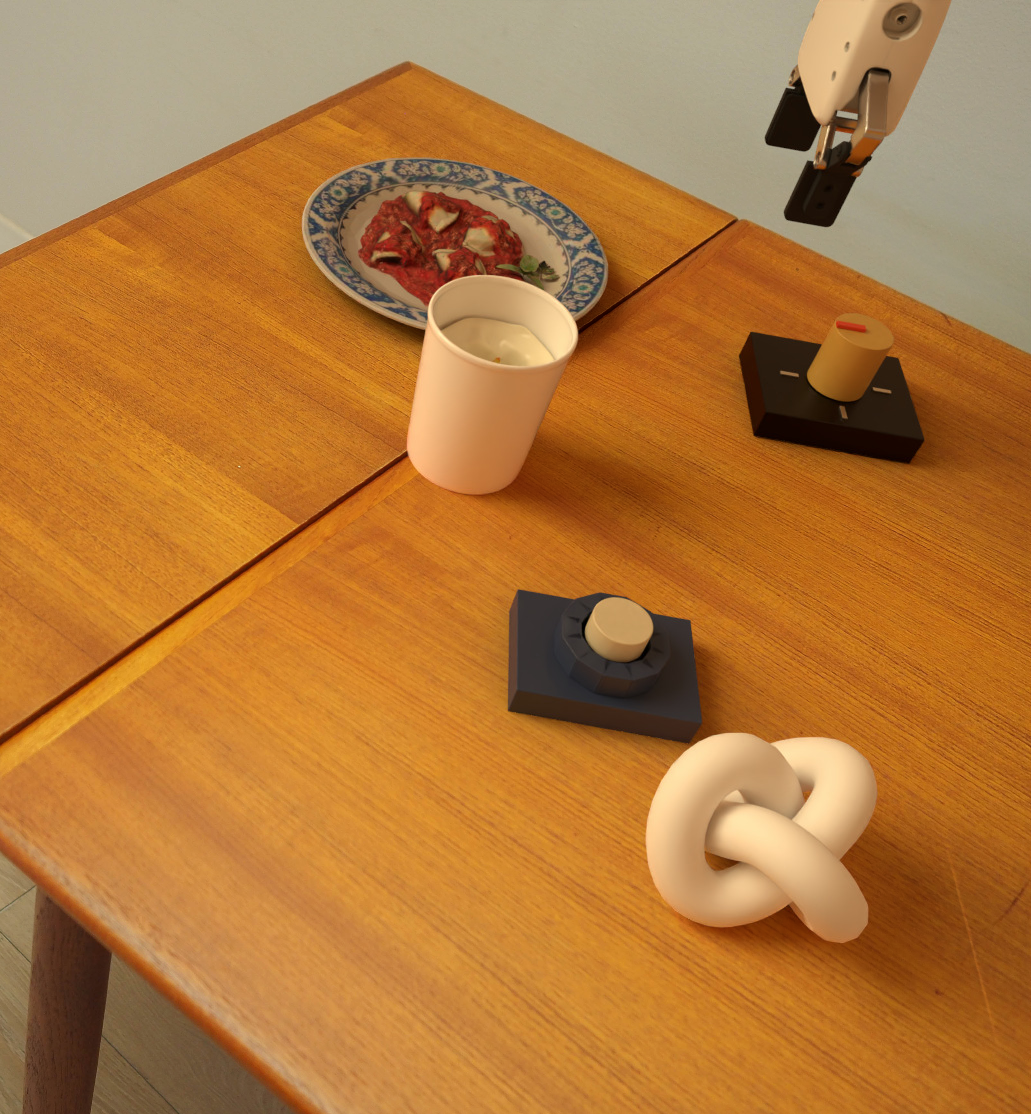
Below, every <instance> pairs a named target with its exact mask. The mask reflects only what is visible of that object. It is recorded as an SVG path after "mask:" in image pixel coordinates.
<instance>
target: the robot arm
mask: <svg viewBox="0 0 1031 1114" xmlns="http://www.w3.org/2000/svg"><path fill="white" fill-rule="evenodd" d="M951 3H952V0H818V2H817V4H816V7H815V9H814V11H813V13H812V15H811V18H810V21H809V23H808V25H807V28H806V29H805V30H806V31H805V33H804V36H803V39H802V40H801V44H800V47H799V50H798V54H797V64H796V65H795V67H793V68H792V70H791V72H790V74H789V77H788V83H787V84H788V87H785V89H784V91H783V93H782V96H781V97H780V99H779V103H778V104H777V106H776V109H775V111H774V114H773V116H772V118H771V121H770V123H769V125H768V128H767V130H766V133H765V135H764V142H765V145H767V146H770V147H776V148H779V149H786V150H790V151H791V150H792V151H797V152H803V153H806V152H808V151H810V150H811V148H812V146H813V144H814V142H815V140H816V138H817V136H818V134H819V136H818V140H817V145H816V150H815V154H814V159H813V160H808V159H807V160H806V162H805V164H804V167H803V168H802V171H801V173H800V174H799V177H798V179H797V182H796V183H795V186H794V188H793V189H792V192H791V194H790V195H789V198H788V201H787V203H786V204H785V207H784V209H783V216H784V220H786V221H788V222H793V223H800V224H805V225H811V226H814V227H815V226H816V227H822V228H830V227H831V226H833V225H834V224H835V222H836V220H837V218H838V216H839V215H840V212H841V210H842V208H843V206H844V204H845V202H846V200H847V198H848V196H849V194H850V192H851V190H852V188H853V186H854V184H855V183H856V180H857V178H859V177H860V176H861V175H862V174H863V171H864V169H865V166H867V165H868V164H869V163H870V162H871V161H872V159H873V156H872V155H873V154H874V153H875V151H876V150H877V149H878V148H879V146H880V145H881V144H882V143H883V141H884V140H885V138H887V137H889V136H890V135H892V133H894V132H895V130H896V129H897V127H898V125H899V123H900V121H901V120H902V117H903V115H904V113H905V111H906V108H907V106H908V104H909V103H910V100H911V97H912V96H913V93H914V91H915V89H916V87H917V85H918V83H919V80H920V78H921V76H922V74H923V72H924V70H925V67H926V65H927V63H928V60H929V59H930V56H931V54H932V52H933V50H934V47H935V44H936V42H937V40H938V38H939V35H940V33H941V30H942V27H943V25H944V23H945V21H946V17H947V14H948V12H949V9H950V6H951ZM790 87H792V88H790ZM838 112H844V113H850V114H855V115H857V118H856V119H855V118H849V117H843V116H838ZM819 131H820V132H819ZM836 132H839V133H845V134H851V135H850V139H849V141H846V140H843V141H841V142H840V143H838V144H837V145H836V146H834V147H833V144H834V140H835V135H836Z"/></svg>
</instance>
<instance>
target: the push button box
mask: <svg viewBox="0 0 1031 1114" xmlns="http://www.w3.org/2000/svg"><path fill="white" fill-rule="evenodd" d="M613 597H617V598H624V599H627V600H630V601H633V602H635V603H636V604H638V605H639V606H641V607H642V608H643V609H644V610H645V611H646V612H647V613H648V614H649V616H650V618H651V620H652V623H653V633H652V635H651V637H650V639H649V641H648V643H647V645H646V647H645V649H644V651H643V652H642V654H641V655H640V656H639V657H638V658H637V659H635V660H633V661H630V662H614V661H611V660H608V659H605V658H603V657H601V656H600V655H598V654H597V653H596V652H595V651H594V650H593V649H592V648H591V647H590V646H589V644H588V642H587V640H586V637H585V627H586V625H587V623H588V620H589V618H590V616H591V614H592V612H593V610H594V607H595V606H596V605H597V604H598V603H599V602H600V601H602V600H604V599H607V598H613ZM694 646H695V645H694V638H693V629H692V621H691V620H690V619H688V618H687V619H685V618H680V617H676V616H671V615H670V616H669V615H664V614H659V613H654V612H652V611H651V610H649V609H648V608H646V607H644V606H643V605H641V604H639V603H638V602H636V601H635V600H633V599H631V598H629V597H627V596H624V595H623V596H622V595H618V594H613V593H612V594H611V593H607V592H601V591H600V592H595V593H591V594H588V595H584V596H580V597H577V598H571V597H564V596H559V595H552V594H549V593H548V594H547V593H543V592H536V591H532V590H526V589H520V588H517V590H516V592H515V595H514V598H513V600H512V603H511V605H510V608H509V610H508V662H507V664H508V666H507V671H508V672H507V712H510V713H515V712H516V713H515V714H521V715H527V716H531V715H532V717H536V718H537V717H538V718H543V719H549V720H554V719H556V720H555V721H559V722H560V721H561V722H565V721H566V722H565V723H570V722H571V724H576V723H577V725H582V726H588V727H594V728H599V729H603V730H609V729H610V731H615V730H616V732H621V731H623V732H621V733H627V734H631V735H632V734H633V735H637V734H638V736H643V735H644V736H643V737H648V736H650V737H649V738H655V739H659V738H660V739H659V740H667V741H671V740H672V742H676V741H677V742H676V743H682V744H687V743H688V745H690V744H691V742H692V741H693V740H694V738H695V736H696V735H697V733H698V732H699V730H700V728H701V726H702V725H703V717H702V709H701V699H700V690H699V682H698V681H699V680H698V673H697V664H696V655H695V647H694ZM689 743H690V744H689Z"/></svg>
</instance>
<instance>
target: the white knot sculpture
mask: <svg viewBox="0 0 1031 1114" xmlns="http://www.w3.org/2000/svg"><path fill="white" fill-rule="evenodd" d="M874 772H875V771H874V769H873V768H872V766H871V763H870V761H869V760H868V759H867V758H866V757H865V755H863V754H862V753H861V752H860V751H859V750H857V749H856V748H855V747H853V746H852V745H850V744H849V743H846V742H844V741H842V740H839V739H837V738H830V737H825V736H813V737H812V736H805V737H802V736H801V737H793V738H786V739H781V740H777V741H774V742H771V743H770V742H768V741H766V740H764V739H763V738H761V737H759V736H757V735H754V734H752V733H747V732H724V733H718V734H714V735H710V736H707V737H706V738H704V739H702V740H699V741H697V742H696V743H695V744H693V745H691V746H690V747H689V748H688V749H686V750H684V752H683V753H682V754H681V755H680V756H679V757H678V758H677V759H676V760H675V761H674V762H673V763H672V764H671V765H670V767H669V769H667V772H666V773H665V774H664V776H662V777H663V778H662V779H661V780H660V783H659V785H658V787H657V789H656V791H655V793H654V796H653V798H652V800H651V804H650V808H649V812H648V815H647V819H646V828H645V829H646V830H645V848H646V859H647V864H648V865H647V866H648V869H649V872H650V875H651V878H652V882H653V884H654V887H655V888H656V890H657V891H658V894H660V896H661V898H662V899H663V900H664V901H665V902H666V904H667V905H669V907H670V908H672V909H673V910H674V911H675V912H676V913H678V914H680V915H681V916H683V917H684V918H685V919H687V918H688V920H689V919H690V921H691V922H695V923H698V924H701V925H704V926H707V927H713V928H732V927H738V926H744V925H748V924H749V925H750V924H752V923H755V922H758V921H761V920H764V919H766V918H768V917H770V916H772V915H774V914H776V913H778V912H779V911H781V910H782V909H784V908H786V907H787V906H789V907H790V908H791V910H792V911H793V913H794V914H795V915H796V916H797V918H798V919H799V920H800V921H801V922H802V923H803V925H804V926H805V927H807V928H808V929H809V930H810V931H811V932H813V933H814V934H815V935H817V936H818V937H819V938H821V939H822V940H823V941H826V942H833V943H837V944H839V943H840V944H844V943H847V942H850V941H852V940H855V939H857V938H859V937H860V935H861V934H862V932H863V931H864V930H865V928H866V927H867V925H868V923H869V905H868V902H867V900H866V898H865V896H864V893H863V892H862V891H861V888H860V887H859V885H858V883H857V882H856V880H855V878H854V877H853V875H852V874H851V872H850V871H849V870H848V869H847V868H846V867H845V865H844V863H842V861H841V859H843V857H844V856H845V855H846V853H847V852H848V851H849V850H850V849H851V848H852V847H853V846H854V845H855V844H856V842H857V841H858V839H859V838H860V837H861V836H862V834H863V833H864V831H865V829H866V828H867V827H868V826H869V823H870V821H871V819H872V818H873V817H872V816H873V815H874V812H875V809H876V805H877V801H878V785H877V779H876V776H875V773H874ZM809 792H811V793H810V795H809V796H808V798H807V800H805V797H804V793H809ZM705 852H706V853H708V854H712V855H715V856H718V857H720V858H724V859H727V860H732V861H737V863H735V864H734V865H732V866H729V867H727V868H724V869H720V870H715V869H713V868H712V867H711V866H710V864H709V863H708V861H707V860H706V853H705Z"/></svg>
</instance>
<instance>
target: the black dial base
mask: <svg viewBox="0 0 1031 1114" xmlns="http://www.w3.org/2000/svg"><path fill="white" fill-rule="evenodd" d="M822 344H823V343H817V342H812V341H806V340H801V339H795V338H790V337H784V336H780V335H779V336H778V335H773V334H768V333H767V334H766V333H762V332H756V331H750V332H749V334H748V335H747V337H746V339H745V342H744V344H743V346H742V347H741V351H740V353H739V354H738V358H739V363H740V369H741V375H742V380H743V385H744V392H745V396H746V401H747V409H748V413H749V418H750V423H751V424H750V425H751V428H752V434H753V436H754V437H758V438H763V439H768V440H773V441H779V442H784V443H791V444H796V445H801V446H806V447H807V446H808V447H813V448H819V449H824V450H830V451H835V452H841V453H847V454H851V455H852V454H853V455H857V456H862V457H869V458H875V459H880V460H885V461H891V462H896V463H902V464H907V465H908V464H911V462H912V461H913V459H914V457H915V456H916V455H917V453H918V452H919V450H920V448H921V447H922V446H923V444H924V443H925V440H926V439H925V436H924V433H923V429H922V426H921V423H920V420H919V417H918V414H917V410H916V407H915V404H914V402H913V399H912V395H911V392H910V389H909V385H908V383H907V379H906V376H905V374H904V370H903V368H902V365H901V362H900V361H901V360H900V358H899V357H896V356H890V355H886V357H885V359H884V360H883V362H882V364H881V366H880V367H879V369H878V371H877V372H876V374H875V376H874V377H873V379H872V381H871V382H870V384H869V386H868V388H867V389H866V391H865V393H864V394H863V396H862V397H861V398H860V399H858V400H855V401H849V402H846V401H838V400H834V399H831V398H829V397H827V396H825V395H823V394H821V393H820V392H818V391H817V390H816V389H814V388H813V387H812V385H811V384H810V383H809V381H808V378H807V372H808V370H809V368H810V366H811V364H812V362H813V361H814V359H815V357H816V355H817V353H818V351H819V349H820V348H821V346H822Z"/></svg>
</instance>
